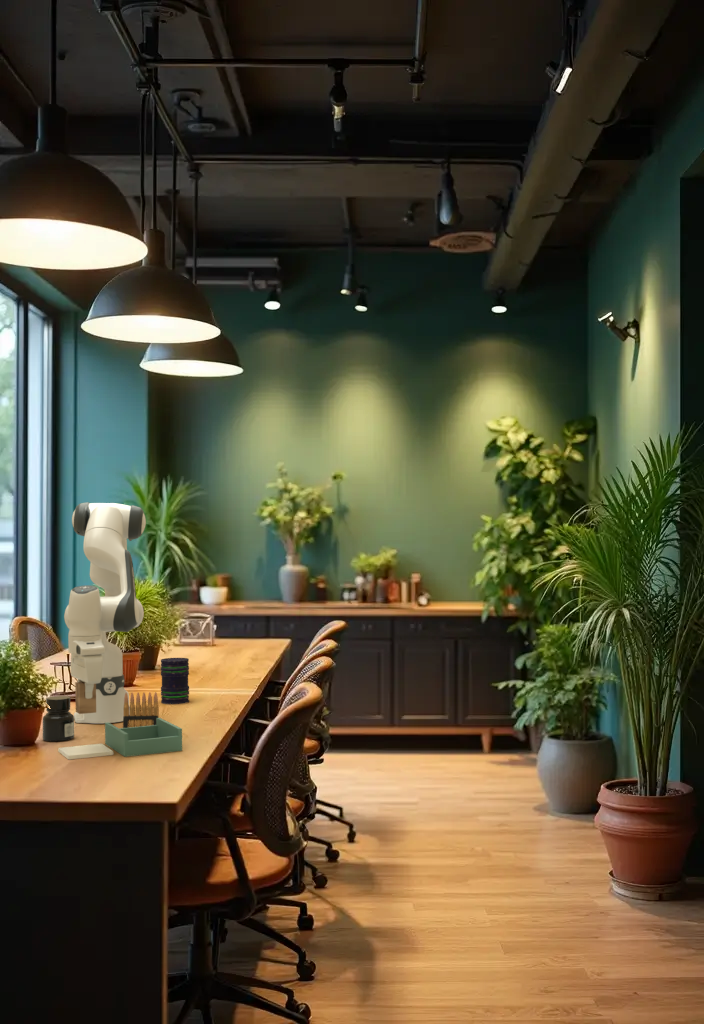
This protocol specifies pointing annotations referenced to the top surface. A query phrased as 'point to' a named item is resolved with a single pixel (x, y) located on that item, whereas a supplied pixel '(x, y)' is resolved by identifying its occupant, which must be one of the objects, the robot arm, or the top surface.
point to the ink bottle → (58, 720)
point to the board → (85, 751)
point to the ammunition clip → (140, 711)
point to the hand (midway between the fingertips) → (85, 696)
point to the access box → (144, 738)
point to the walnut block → (84, 699)
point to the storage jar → (174, 680)
